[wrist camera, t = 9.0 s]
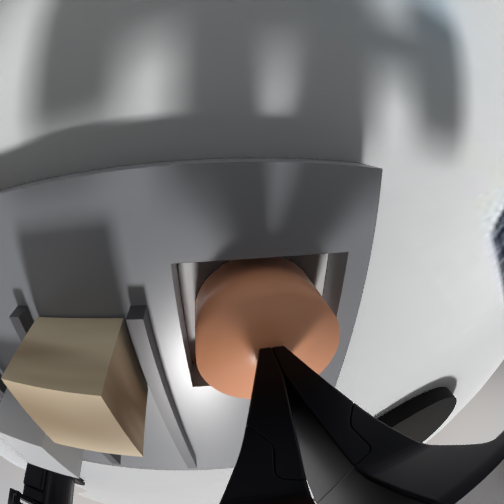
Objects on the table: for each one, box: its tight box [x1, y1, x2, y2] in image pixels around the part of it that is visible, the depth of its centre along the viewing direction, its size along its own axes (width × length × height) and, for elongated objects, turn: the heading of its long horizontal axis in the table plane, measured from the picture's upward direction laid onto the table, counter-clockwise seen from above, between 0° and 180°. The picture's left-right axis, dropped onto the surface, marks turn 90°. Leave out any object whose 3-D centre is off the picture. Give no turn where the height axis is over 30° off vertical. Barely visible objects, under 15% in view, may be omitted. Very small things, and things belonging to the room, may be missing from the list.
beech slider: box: [1, 317, 148, 457], centre depth 8 cm, size 4×4×4 cm
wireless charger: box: [378, 387, 456, 443], centre depth 22 cm, size 18×18×2 cm
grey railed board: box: [0, 158, 382, 470], centre depth 11 cm, size 20×20×2 cm
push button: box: [195, 257, 340, 399], centre depth 10 cm, size 5×5×3 cm
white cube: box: [0, 388, 84, 478], centre depth 9 cm, size 4×4×4 cm
